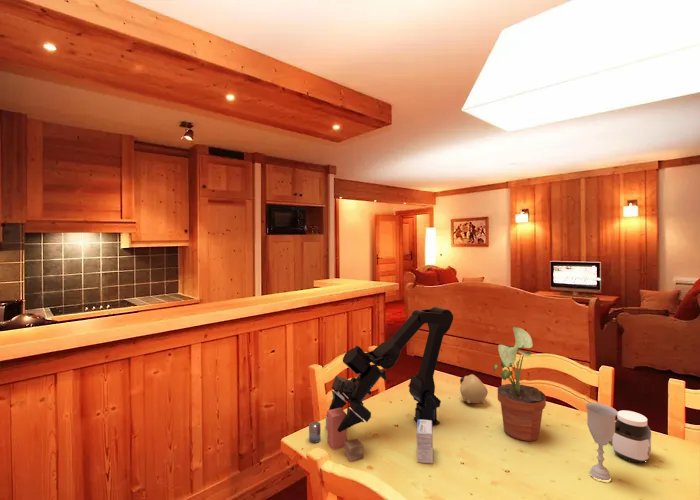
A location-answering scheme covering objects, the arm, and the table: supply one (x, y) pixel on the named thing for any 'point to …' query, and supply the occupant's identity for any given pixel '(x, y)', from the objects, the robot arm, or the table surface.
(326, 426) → the slate grey block
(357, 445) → the walnut block
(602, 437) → the chalice
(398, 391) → the table surface
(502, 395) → the potted plant
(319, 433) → the grey metal cylinder
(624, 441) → the spread jar
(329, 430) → the dusty red block
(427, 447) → the medicine box
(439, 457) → the table surface
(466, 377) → the toy pig
